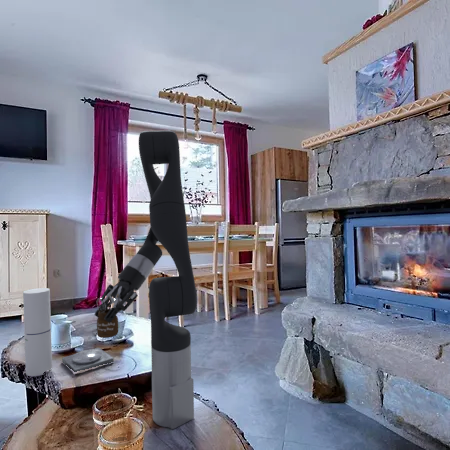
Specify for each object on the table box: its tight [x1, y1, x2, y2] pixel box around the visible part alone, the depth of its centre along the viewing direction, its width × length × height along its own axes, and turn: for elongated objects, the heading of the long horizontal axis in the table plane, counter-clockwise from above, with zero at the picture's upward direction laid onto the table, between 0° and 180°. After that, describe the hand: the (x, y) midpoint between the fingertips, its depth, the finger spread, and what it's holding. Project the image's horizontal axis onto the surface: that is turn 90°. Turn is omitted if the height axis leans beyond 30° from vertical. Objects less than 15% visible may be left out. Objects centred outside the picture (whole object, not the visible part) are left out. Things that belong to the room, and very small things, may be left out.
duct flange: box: [61, 346, 115, 372], centre depth 109 cm, size 12×12×3 cm
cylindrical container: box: [22, 287, 53, 377], centre depth 103 cm, size 7×7×25 cm
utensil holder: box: [96, 294, 119, 339], centre depth 99 cm, size 6×6×12 cm
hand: (101, 318), depth 97 cm, fingers closed on utensil holder, 5 cm apart
